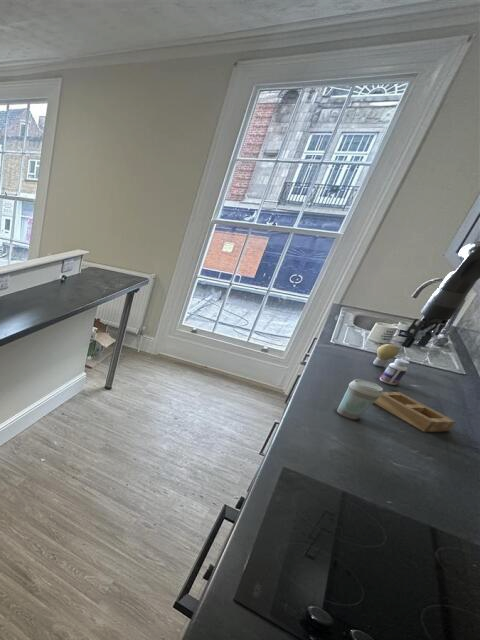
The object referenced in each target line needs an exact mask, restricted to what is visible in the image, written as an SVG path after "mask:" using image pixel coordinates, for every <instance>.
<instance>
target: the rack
mask: <svg viewBox="0 0 480 640" xmlns="http://www.w3.org/2000/svg"><path fill="white" fill-rule="evenodd" d="M382 393H383V394H382V396H380V397H378V398H377V399H376V401H375V402H374V403H373V404H375V405H376V406H378V407H380V408H382V409H383V410H385V411H387V412H389V413H391V414H392V415H394V416H395V417H397V418H399V419H401V420H403V421H404V422H407V423H408V424H410V425H412V426H413V427H415V428H416V429H419V430H420V431H422V432H423V433H424V432H427V433H429V432H449V431H450V430H451V428H453V426H454V425H455V424H456V423H457V421H456V420H454V419H452V418H451V417H448V416H446V415H444V414H443V413H441V412H439V411H437V410H435V409H433V408H431V407H430V406H427V405H425V404H424V403H421V402H419V401H418V400H416V399H414V398H412V397H410V396H408V395H406V394H403V393H402V392H399V391H383V392H382Z"/></svg>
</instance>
